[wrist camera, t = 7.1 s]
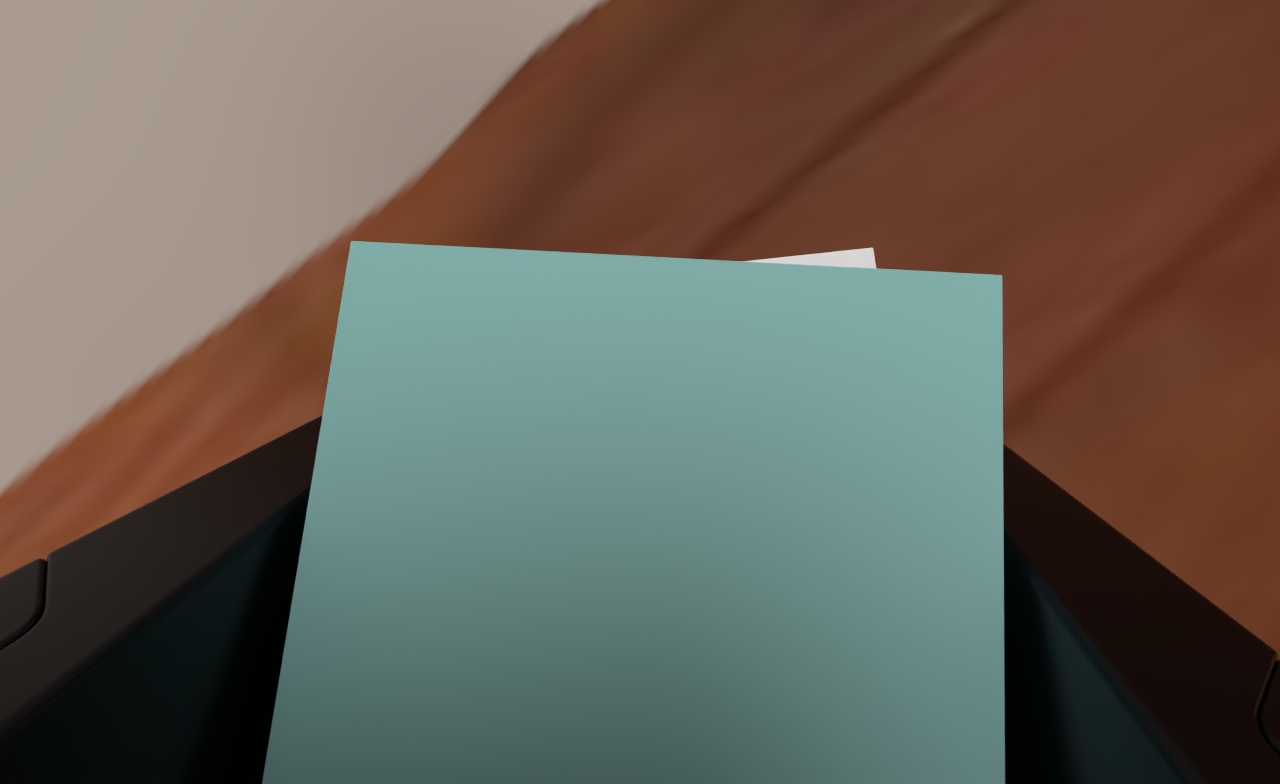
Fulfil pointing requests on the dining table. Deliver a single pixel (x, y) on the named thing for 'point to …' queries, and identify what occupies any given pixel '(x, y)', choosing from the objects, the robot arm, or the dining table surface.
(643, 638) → the teal block
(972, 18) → the dining table surface
